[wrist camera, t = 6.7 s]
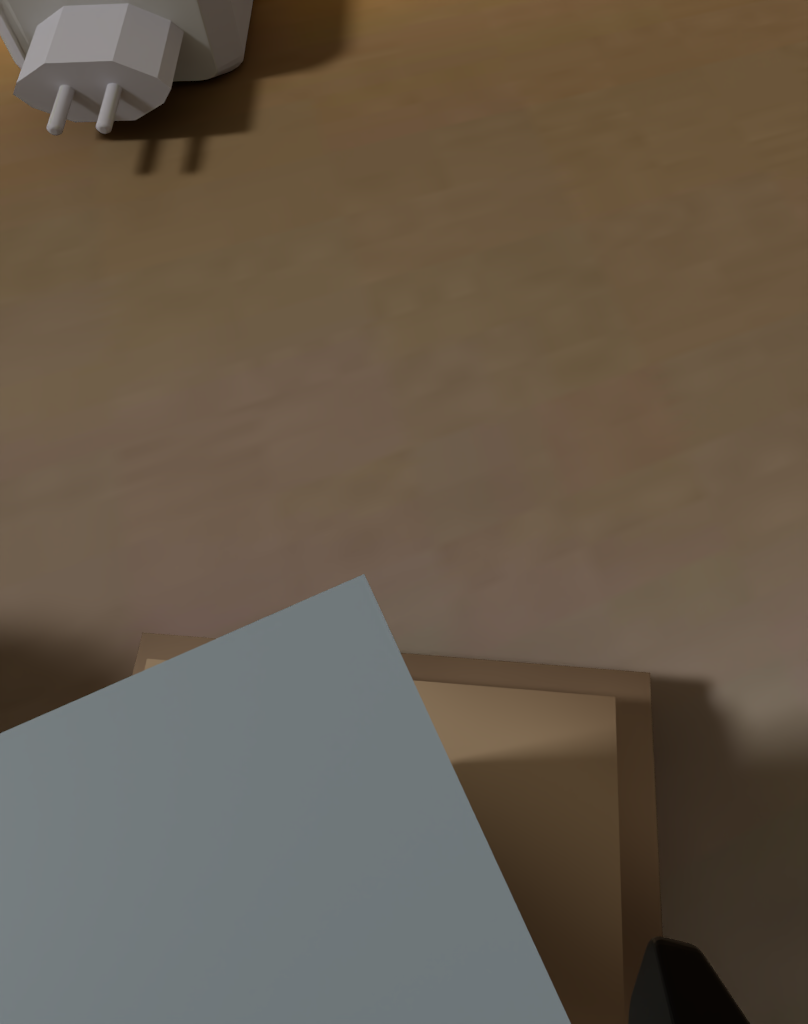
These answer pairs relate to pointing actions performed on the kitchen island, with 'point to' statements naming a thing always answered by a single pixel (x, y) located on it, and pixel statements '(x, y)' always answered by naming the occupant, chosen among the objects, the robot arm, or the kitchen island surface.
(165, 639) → the bottom slab
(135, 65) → the charger
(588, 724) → the top slab
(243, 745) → the grey block
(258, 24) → the kitchen island surface
